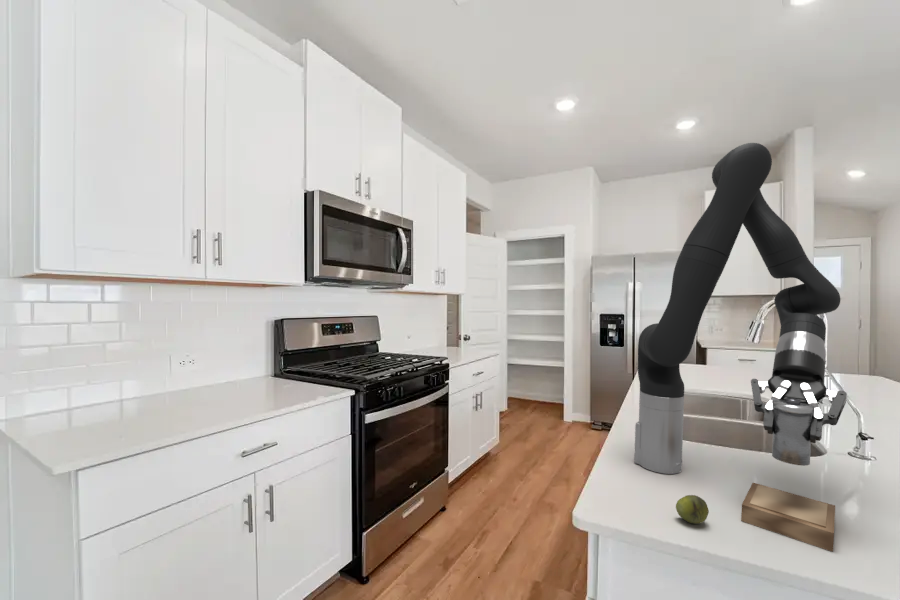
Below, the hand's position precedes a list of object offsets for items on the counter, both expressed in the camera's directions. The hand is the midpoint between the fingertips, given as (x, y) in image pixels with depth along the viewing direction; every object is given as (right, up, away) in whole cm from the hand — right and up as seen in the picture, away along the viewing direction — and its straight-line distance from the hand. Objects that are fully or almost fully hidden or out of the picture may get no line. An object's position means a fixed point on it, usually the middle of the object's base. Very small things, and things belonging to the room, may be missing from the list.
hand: (790, 435), depth 71 cm
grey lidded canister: (+1, -5, +1) cm, 5 cm away
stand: (+1, -16, +2) cm, 16 cm away
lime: (-17, -16, +1) cm, 23 cm away
